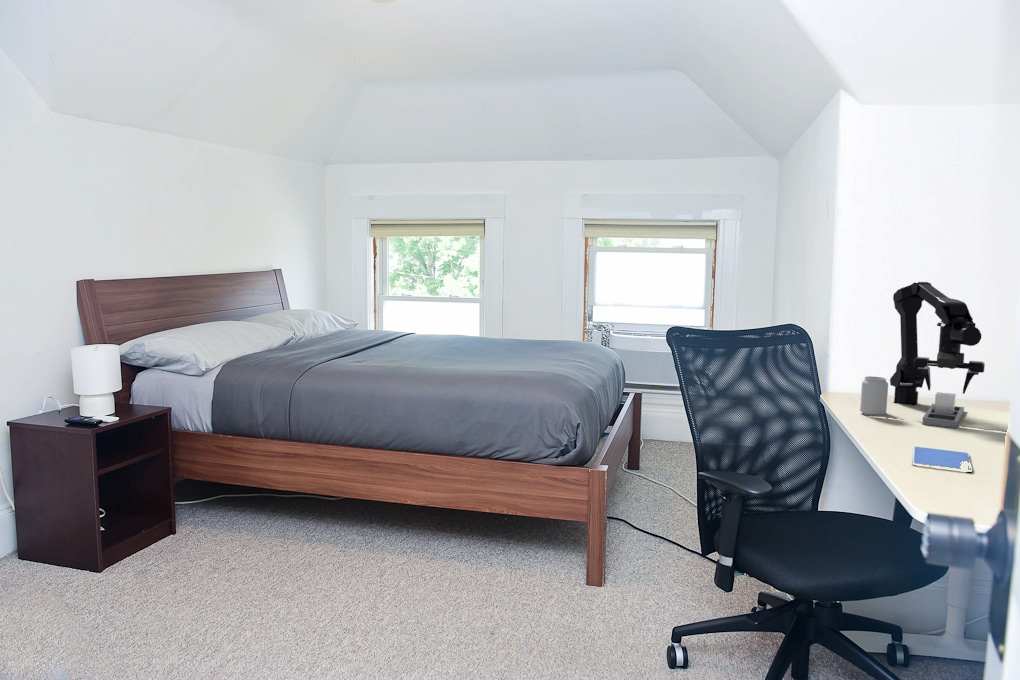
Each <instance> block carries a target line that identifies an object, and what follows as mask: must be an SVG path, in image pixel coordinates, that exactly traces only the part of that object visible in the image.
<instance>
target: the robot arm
mask: <svg viewBox="0 0 1020 680" xmlns="http://www.w3.org/2000/svg"><path fill="white" fill-rule="evenodd" d="M892 300H893V303H894V309H895V310H896V311H897V313H898V315H899V318H900V319H899V320H900V321H899V322H900V323H899V324H900V344H901V345H900V347H901V348H900V350H901V352H900V356H901V357H900V359H899V361H898V362H897V363H896V366H895V372H894V373H893V375H892V376H891V377H890V379H889V383H890V386H892V387H894V398H893V399H894V400H893V402H892V403H893V404H897V405H908V406H916V405H917V404H919V391H918V390H917V389H918V388H921V389H922V388H923V384H924V381H925V383H926V387H927V391H931V385H932V383H931V382H932V381H931V367H937V368H939V369H946V368H947V369H950V370H954V369H962V370H963V369H964V370H967V372H966V376H965V381H964V384H963V388H962V394H963V395H965V394H966V391H967V388H968V386H969V385H970V382H971V381H972V379H973V377H974V376H978V375H980V373H982V374H983V373H984V372H985V367H986V366H985V365H986V364H985V362H984V361H978V360H977V361H976V360H969V362H965V353H963V352H961V349H962V348H961V347H962V345H963V346H964V345H965V346H969V347H973V346H976V345H978V344H979V343H980V341H981V339H982V333H981V330H980V329H979V328H978V327H976V323H975V322H974V321H973V317H972V316H971V313H970V310H969V307H968V305H967V304H966V302H964V301H961V300H958V299H955V298H950V297H948V296H947V295H946V294H944V293H943V292H941V291H940V290H938V289H937V288H935V287H934V286H933V285H932V283H931V282H929V281H916V282H913V283H912V284H910V285H906V286H904V287H901V288H899V289H897V290H896V292H894V293H893V296H892ZM924 301H925V302H926V303H927V304H929V305H930V306H931V307H933V308H934V314H935V315H936V316H937V317H938V318H939V319H940V321H938V322H937V323H936V326H937V327H940V328H939V329H940V330H939V342H938V352H937V356H936V360H933V359H931V360H930V357H924V356H923V357H922V356H919V353H918V352H919V351H918V349H919V348H918V319H917V318H918V313H919V312H920V310H921V308H922V306H923V302H924Z"/></svg>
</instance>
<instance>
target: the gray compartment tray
mask: <svg viewBox="0 0 1020 680" xmlns="http://www.w3.org/2000/svg"><path fill="white" fill-rule="evenodd" d="M934 409H935V403H931V405H930V406H929V408H928V410H927V411H926V412H925V413H924V415H923V416H922V421H921V422H922V423H921V424H922V425H924V426H926V425H927V426H932V427H933V426H934V427H943V428H950V429H958V428H959V424H960V421H961V419H962V417H963V415H964V412H965V406H957V405H955V409H954V415H946V414H938V413H934Z"/></svg>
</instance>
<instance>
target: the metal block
mask: <svg viewBox="0 0 1020 680" xmlns="http://www.w3.org/2000/svg"><path fill="white" fill-rule="evenodd" d="M956 394H957V393H949V392H948V393H947V392H939V391H937V392H936V393H935V395H934V396H935V399H934V404H935V409H934V413H938V414H946V415H954V409H955V406H956V396H957V395H956Z"/></svg>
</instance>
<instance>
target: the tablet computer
mask: <svg viewBox="0 0 1020 680" xmlns="http://www.w3.org/2000/svg"><path fill="white" fill-rule="evenodd" d="M912 454H914V455H913V463H915V464H922V465H929V466H940V467H949V468H956V469H961V468H960V466H961V464H962V463H961V462H962V461H963V462H964V461H967V462H968V463H969V462H970V460H969V456H970V453H968V452H964V451H954V450H948V449H939V448H931V447H923V446H913V447H912ZM960 463H961V464H960ZM968 470H971V468H970V469H969V466H968Z"/></svg>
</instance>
